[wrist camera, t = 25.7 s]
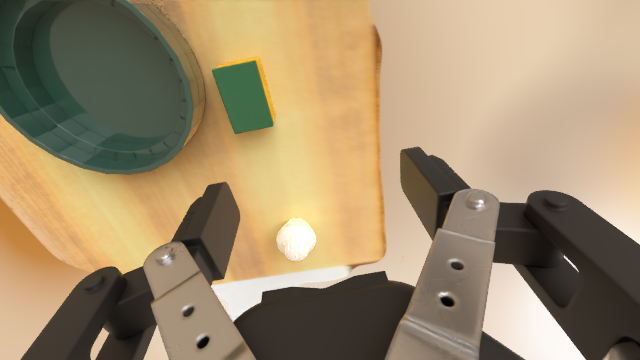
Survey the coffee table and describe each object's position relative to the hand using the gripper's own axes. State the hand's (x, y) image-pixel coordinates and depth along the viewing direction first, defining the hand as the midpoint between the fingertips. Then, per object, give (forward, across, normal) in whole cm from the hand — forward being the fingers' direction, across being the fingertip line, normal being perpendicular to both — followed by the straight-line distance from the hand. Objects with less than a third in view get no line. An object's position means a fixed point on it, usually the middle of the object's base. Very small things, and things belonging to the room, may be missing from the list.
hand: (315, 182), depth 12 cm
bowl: (+23, +21, -4) cm, 31 cm away
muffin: (+23, +6, +22) cm, 33 cm away
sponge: (+23, +7, 0) cm, 24 cm away
